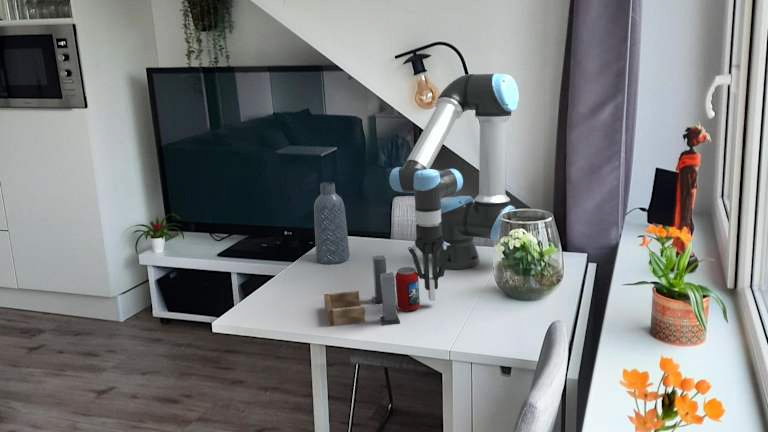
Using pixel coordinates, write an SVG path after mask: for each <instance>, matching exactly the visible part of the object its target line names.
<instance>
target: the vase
mask: <svg viewBox="0 0 768 432" xmlns="http://www.w3.org/2000/svg"><path fill="white" fill-rule="evenodd" d="M319 186H320V188H319V189H320V194H319V195H318V196H317V198H316V199H315V202H314V205H313V214H314V215H313V216H314V217H313V218H314V219H313V220H314V222H313V223H314V237H315V238H314V239H315V241H314V243H315V259H316V261H317V262H318V263H320V264H325V265H334V264H335V265H337V264H340V263H343V262H346V261H348V260H349V259H350V244H349V237H348V227H347V218H346V208H345V204H344V201H343V199H342V197H341V196H340V195H339V194H337V193H336V186H335V182H331V181H328V182H321V183H320V184H319Z"/></svg>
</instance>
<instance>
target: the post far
mask: <svg viewBox="0 0 768 432" xmlns="http://www.w3.org/2000/svg"><path fill="white" fill-rule="evenodd" d="M386 260H387V258H386V257H385V255H376V256H375V255H374V256H373V255H372V271H373V281H374V283H373V285H374V288H373V289H374V296H372V302H373V303H374V305H376V304H377V305H382V294H381V277H380V274H381V273H387V261H386Z"/></svg>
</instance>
